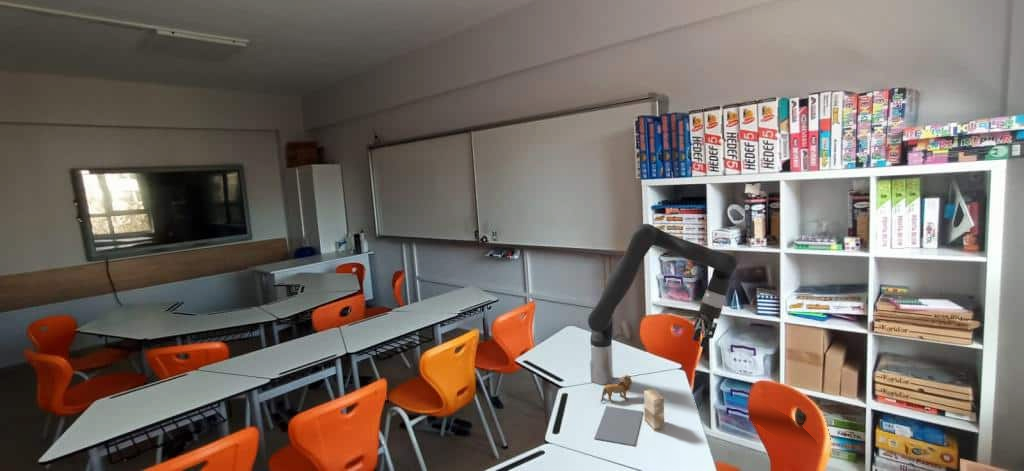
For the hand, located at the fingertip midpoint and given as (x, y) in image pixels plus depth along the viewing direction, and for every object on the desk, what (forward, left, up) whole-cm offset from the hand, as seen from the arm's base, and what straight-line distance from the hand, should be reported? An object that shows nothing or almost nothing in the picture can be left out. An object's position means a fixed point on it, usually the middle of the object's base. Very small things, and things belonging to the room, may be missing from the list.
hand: (698, 343), depth 177 cm
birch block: (-15, -19, -25) cm, 35 cm away
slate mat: (-27, -23, -25) cm, 44 cm away
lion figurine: (-31, -4, -25) cm, 41 cm away
